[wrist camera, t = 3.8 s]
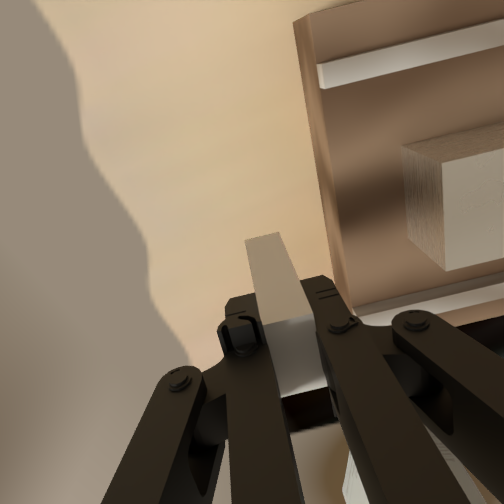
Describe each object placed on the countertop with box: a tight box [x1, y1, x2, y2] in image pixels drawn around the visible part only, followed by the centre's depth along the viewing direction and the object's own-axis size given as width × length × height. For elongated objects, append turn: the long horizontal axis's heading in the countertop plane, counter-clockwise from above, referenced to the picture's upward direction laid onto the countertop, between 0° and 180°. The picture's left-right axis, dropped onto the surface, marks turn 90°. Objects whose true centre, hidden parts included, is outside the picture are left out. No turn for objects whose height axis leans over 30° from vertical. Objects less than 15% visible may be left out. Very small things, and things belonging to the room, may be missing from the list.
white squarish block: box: [401, 121, 504, 271], centre depth 20 cm, size 5×5×4 cm
